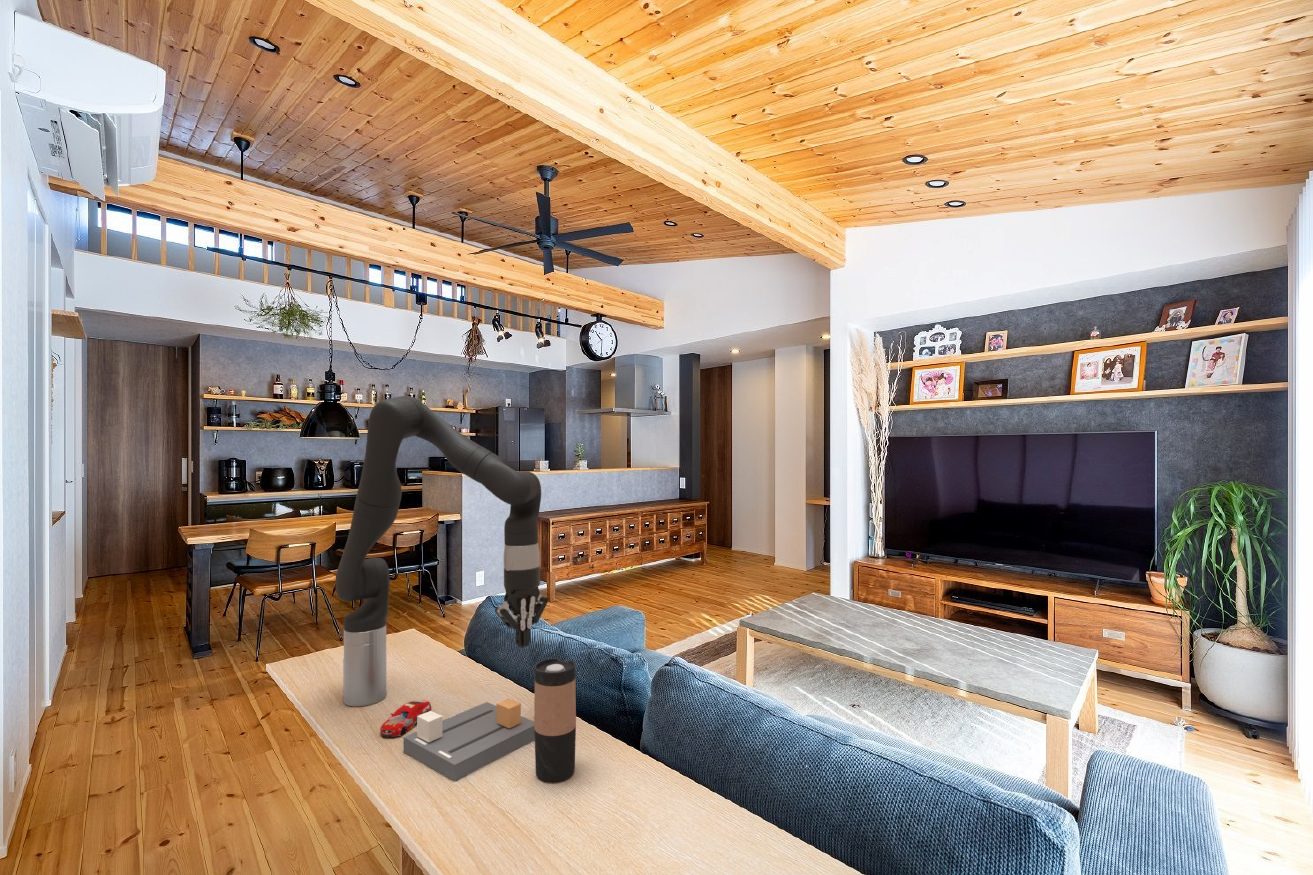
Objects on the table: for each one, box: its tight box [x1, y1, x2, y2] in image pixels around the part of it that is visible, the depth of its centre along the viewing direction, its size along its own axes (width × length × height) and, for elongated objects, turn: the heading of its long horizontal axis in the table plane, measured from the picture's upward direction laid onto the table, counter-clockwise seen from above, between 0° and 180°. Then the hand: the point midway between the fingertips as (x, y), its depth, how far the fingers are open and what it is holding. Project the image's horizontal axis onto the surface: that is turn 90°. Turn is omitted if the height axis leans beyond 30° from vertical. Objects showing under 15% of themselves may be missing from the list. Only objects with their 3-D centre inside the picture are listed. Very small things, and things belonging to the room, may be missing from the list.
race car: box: [379, 699, 432, 738], centre depth 132 cm, size 13×5×4 cm, turn 165°
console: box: [402, 701, 535, 782], centre depth 123 cm, size 17×20×3 cm
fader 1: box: [416, 710, 443, 742], centre depth 119 cm, size 4×3×4 cm
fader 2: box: [496, 698, 522, 728], centre depth 125 cm, size 4×3×4 cm
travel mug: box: [533, 657, 577, 784], centre depth 112 cm, size 8×8×20 cm
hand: (523, 646), depth 129 cm, fingers closed
